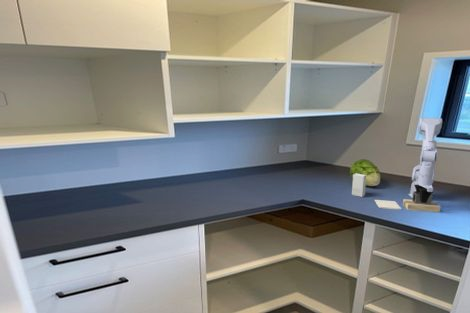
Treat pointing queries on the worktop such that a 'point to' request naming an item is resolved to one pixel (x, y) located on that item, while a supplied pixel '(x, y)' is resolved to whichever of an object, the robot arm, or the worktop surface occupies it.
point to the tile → (387, 204)
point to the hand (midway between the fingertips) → (421, 200)
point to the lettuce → (366, 171)
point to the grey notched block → (418, 198)
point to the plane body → (421, 206)
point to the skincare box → (359, 185)
